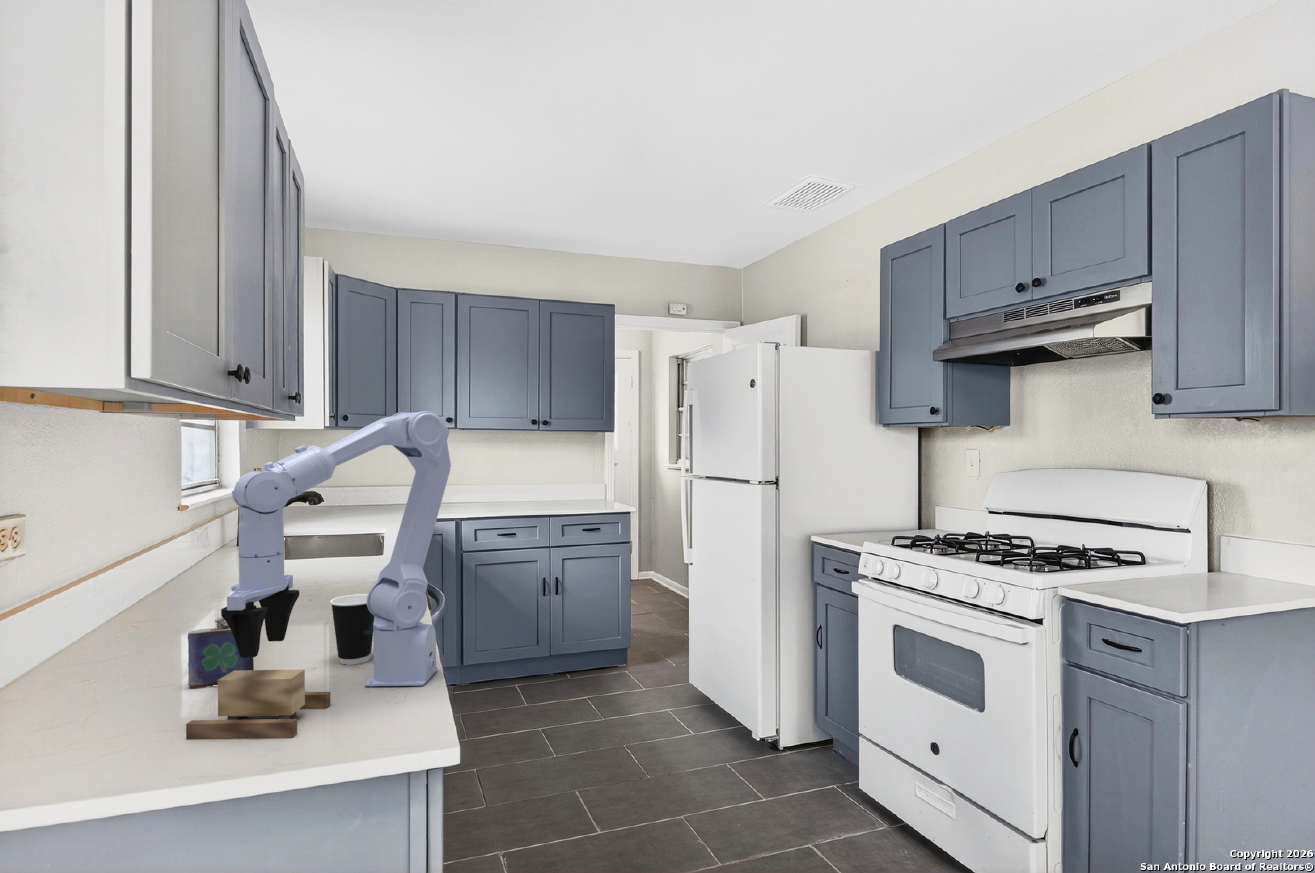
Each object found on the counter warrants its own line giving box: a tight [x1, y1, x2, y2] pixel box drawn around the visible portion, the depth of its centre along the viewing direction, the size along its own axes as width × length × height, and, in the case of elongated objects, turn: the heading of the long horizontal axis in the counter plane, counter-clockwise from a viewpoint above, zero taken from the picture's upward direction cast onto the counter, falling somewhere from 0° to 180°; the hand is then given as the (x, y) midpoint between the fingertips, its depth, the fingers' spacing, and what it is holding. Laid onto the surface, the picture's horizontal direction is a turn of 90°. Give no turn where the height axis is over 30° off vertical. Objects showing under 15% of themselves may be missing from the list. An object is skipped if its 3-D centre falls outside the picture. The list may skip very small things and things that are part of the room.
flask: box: [187, 616, 255, 689], centre depth 117 cm, size 9×3×11 cm, turn 109°
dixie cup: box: [329, 593, 374, 666], centre depth 128 cm, size 8×8×11 cm
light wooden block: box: [217, 669, 306, 717], centre depth 101 cm, size 10×4×5 cm, turn 92°
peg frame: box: [185, 691, 331, 740], centre depth 101 cm, size 14×11×2 cm
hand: (263, 648), depth 104 cm, fingers open, 7 cm apart
